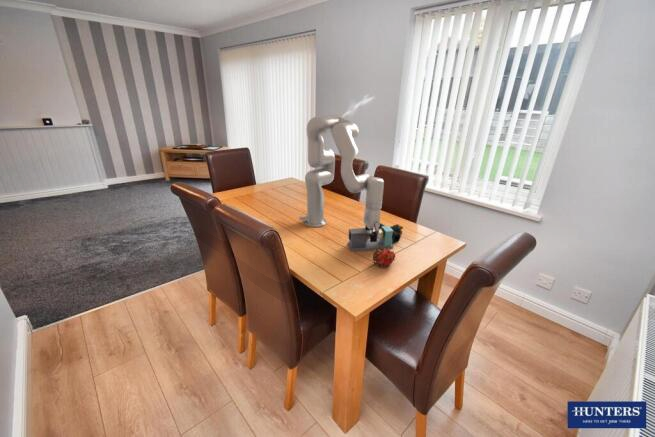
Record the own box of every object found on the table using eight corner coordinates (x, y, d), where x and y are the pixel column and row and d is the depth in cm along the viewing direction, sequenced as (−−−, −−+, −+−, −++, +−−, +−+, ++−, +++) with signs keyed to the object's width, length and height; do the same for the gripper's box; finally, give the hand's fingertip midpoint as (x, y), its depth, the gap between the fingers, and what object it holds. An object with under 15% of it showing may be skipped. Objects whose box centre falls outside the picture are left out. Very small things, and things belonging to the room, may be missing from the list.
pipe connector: (391, 219, 156) (410, 229, 144) (390, 227, 158) (409, 238, 146) (375, 223, 150) (393, 234, 139) (374, 232, 153) (392, 244, 141)
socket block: (384, 246, 135) (386, 231, 132) (380, 240, 141) (381, 226, 137) (391, 245, 136) (393, 231, 132) (386, 239, 141) (388, 225, 138)
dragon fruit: (369, 269, 121) (390, 267, 126) (380, 267, 114) (403, 265, 119) (366, 250, 123) (388, 248, 128) (377, 247, 116) (399, 245, 121)
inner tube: (352, 240, 132) (353, 234, 130) (350, 237, 135) (351, 231, 134) (382, 238, 135) (383, 232, 133) (379, 235, 138) (380, 229, 136)
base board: (351, 252, 132) (351, 249, 131) (347, 244, 139) (347, 241, 138) (392, 248, 135) (392, 246, 135) (386, 240, 143) (386, 238, 142)
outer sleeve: (351, 248, 132) (351, 233, 129) (348, 243, 137) (349, 229, 134) (366, 247, 134) (368, 232, 131) (363, 242, 138) (364, 227, 135)
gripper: (360, 198, 135) (358, 230, 142) (372, 211, 119) (369, 247, 127) (374, 197, 136) (371, 229, 144) (388, 210, 121) (384, 245, 128)
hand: (370, 237), depth 135 cm, fingers open, 7 cm apart
